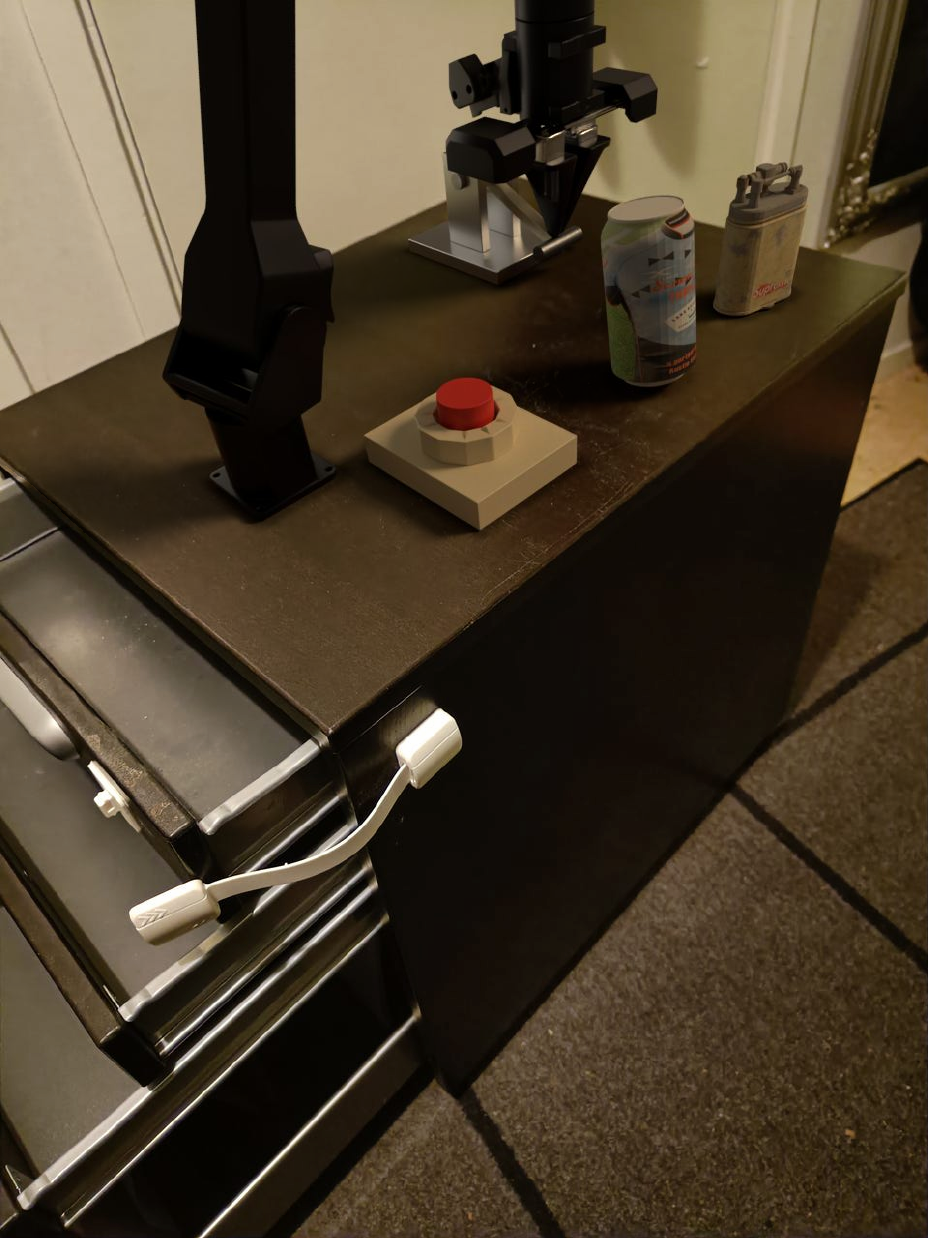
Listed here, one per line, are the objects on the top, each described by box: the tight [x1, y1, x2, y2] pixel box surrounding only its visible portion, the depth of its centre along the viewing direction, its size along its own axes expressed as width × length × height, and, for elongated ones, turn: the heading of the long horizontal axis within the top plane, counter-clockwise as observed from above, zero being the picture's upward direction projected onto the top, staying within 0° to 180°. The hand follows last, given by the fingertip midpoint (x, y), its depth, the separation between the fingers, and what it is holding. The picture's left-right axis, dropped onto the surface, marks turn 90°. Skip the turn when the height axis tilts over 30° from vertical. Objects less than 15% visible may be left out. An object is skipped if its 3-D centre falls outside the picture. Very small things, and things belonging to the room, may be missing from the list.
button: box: [435, 377, 494, 431], centre depth 53 cm, size 4×4×2 cm
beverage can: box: [600, 194, 697, 388], centre depth 57 cm, size 6×7×12 cm
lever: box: [486, 182, 583, 263], centre depth 73 cm, size 12×5×2 cm, turn 43°
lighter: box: [712, 161, 809, 317], centre depth 64 cm, size 7×4×10 cm, turn 122°
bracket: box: [407, 151, 566, 286], centre depth 76 cm, size 12×9×9 cm
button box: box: [363, 385, 578, 531], centre depth 55 cm, size 11×9×4 cm
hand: (555, 233), depth 71 cm, fingers closed, pressing on lever
